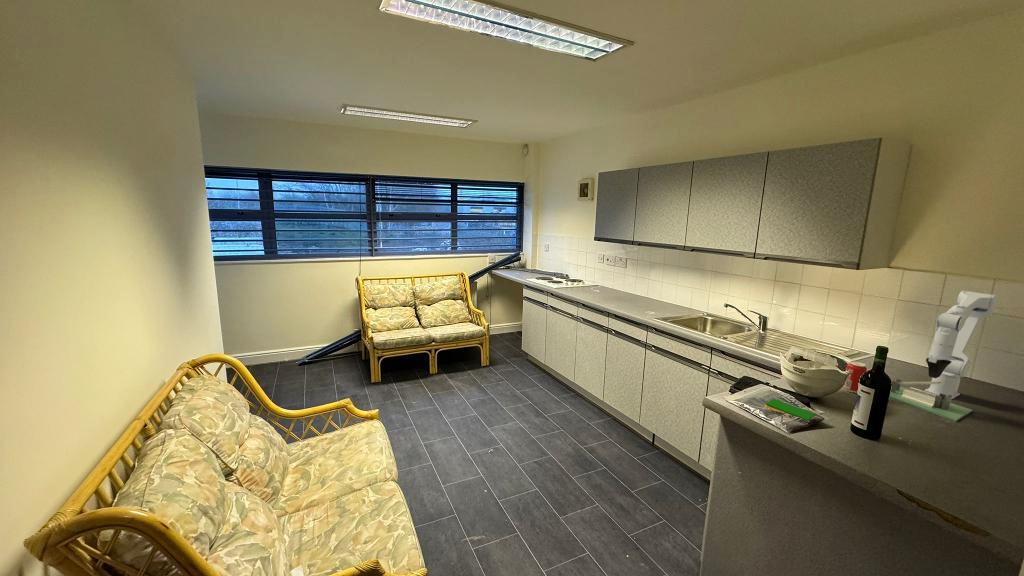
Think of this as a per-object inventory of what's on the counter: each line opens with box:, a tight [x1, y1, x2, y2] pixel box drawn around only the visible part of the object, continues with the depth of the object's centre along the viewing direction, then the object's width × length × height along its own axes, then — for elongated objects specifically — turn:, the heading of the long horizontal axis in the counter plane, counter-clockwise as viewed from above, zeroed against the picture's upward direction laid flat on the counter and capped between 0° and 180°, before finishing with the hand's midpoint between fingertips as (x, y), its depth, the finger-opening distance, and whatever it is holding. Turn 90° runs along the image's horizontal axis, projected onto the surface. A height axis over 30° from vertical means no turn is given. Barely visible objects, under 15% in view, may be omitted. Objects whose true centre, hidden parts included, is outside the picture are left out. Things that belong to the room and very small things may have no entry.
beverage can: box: [842, 360, 868, 394], centre depth 164 cm, size 6×6×12 cm
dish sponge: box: [764, 398, 816, 421], centre depth 146 cm, size 7×14×2 cm, turn 36°
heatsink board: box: [889, 378, 973, 422], centre depth 157 cm, size 16×24×6 cm, turn 28°
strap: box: [897, 381, 945, 386], centre depth 157 cm, size 3×14×1 cm, turn 28°
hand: (933, 376), depth 156 cm, fingers closed
